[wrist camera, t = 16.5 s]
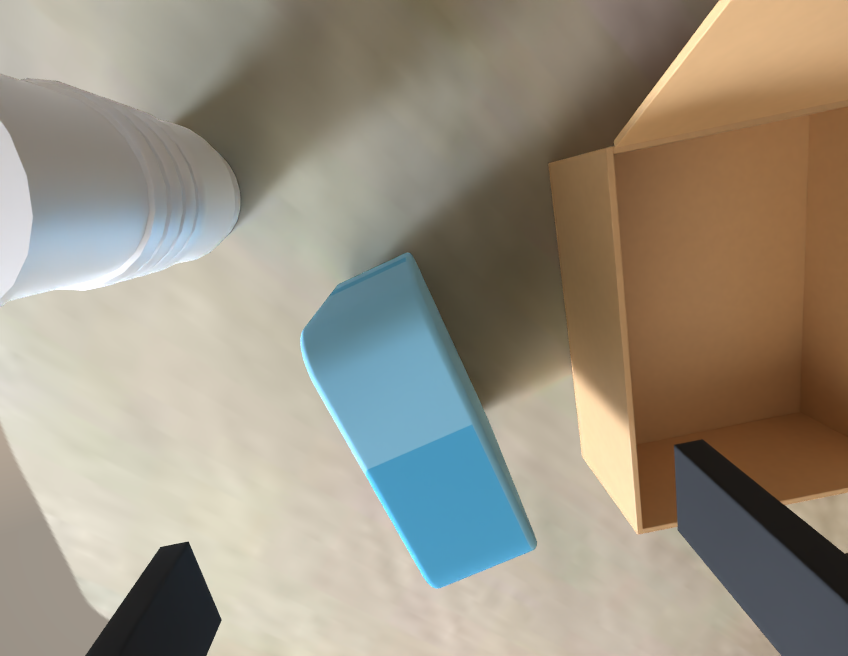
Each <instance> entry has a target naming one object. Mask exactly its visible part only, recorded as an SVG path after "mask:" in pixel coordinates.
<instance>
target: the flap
mask: <svg viewBox="0 0 848 656" xmlns="http://www.w3.org/2000/svg"><path fill="white" fill-rule="evenodd" d="M844 100H848V0H719V1H718V3H717V4H716V5H715V7H714V8H713V9H712V11H711V12H710V13H709V15H708V16H707V17H706V19H705V20H704V21H703V23H702V24H701V25H700V27H699V28H698V29H697V31H696V32H695V33H694V35H693V36H692V37H691V39H690V40H689V41H688V43H687V44H686V45H685V47H684V48H683V49H682V51H681V52H680V53H679V55H678V56H677V57H676V59H675V60H674V61H673V63H672V64H671V65H670V67H669V68H668V69H667V71H666V72H665V73H664V75H663V76H662V77H661V79H660V80H659V81H658V83H657V84H656V85H655V87H654V88H653V89H652V91H651V92H650V93H649V95H648V96H647V97H646V99H645V100H644V101H643V103H642V104H641V105H640V107H639V108H638V109H637V111H636V112H635V113H634V115H633V116H632V117H631V119H630V120H629V121H628V123H627V124H626V125H625V127H624V128H623V129H622V131H621V132H620V133H619V135H618V136H617V137H616V139H615V140H614V145H615V148H617V147H622V146H627V145H632V144H637V143H641V142H646V141H651V140H656V139H661V138H666V137H670V136H675V135H680V134H685V133H690V132H695V131H699V130H704V129H709V128H714V127H719V126H723V125H728V124H733V123H738V122H743V121H748V120H752V119H757V118H762V117H767V116H772V115H777V114H781V113H786V112H791V111H796V110H801V109H806V108H810V107H815V106H820V105H825V104H830V103H835V102H839V101H844Z"/></svg>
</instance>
